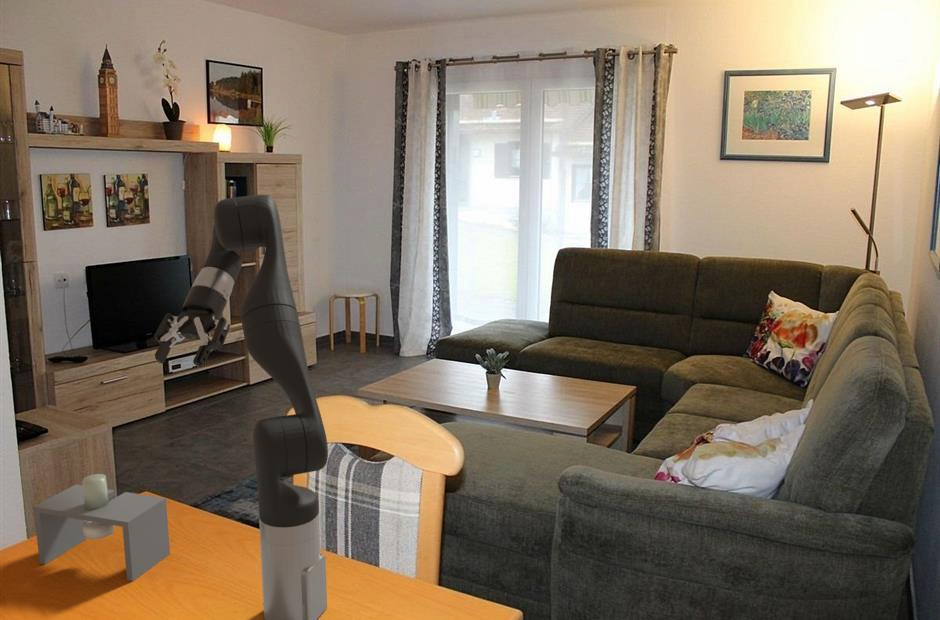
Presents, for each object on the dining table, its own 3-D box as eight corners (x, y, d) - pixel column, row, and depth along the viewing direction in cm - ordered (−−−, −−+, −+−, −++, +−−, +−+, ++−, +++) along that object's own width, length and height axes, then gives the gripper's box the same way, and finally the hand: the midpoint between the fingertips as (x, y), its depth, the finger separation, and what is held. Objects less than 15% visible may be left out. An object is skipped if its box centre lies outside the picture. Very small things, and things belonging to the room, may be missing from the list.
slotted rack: (170, 553, 147) (165, 498, 145) (132, 581, 138) (127, 522, 135) (81, 538, 153) (76, 484, 150) (39, 563, 143) (33, 506, 141)
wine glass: (120, 528, 145) (115, 474, 143) (101, 540, 140) (96, 485, 138) (97, 524, 146) (92, 471, 144) (77, 537, 141) (72, 482, 139)
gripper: (170, 282, 161) (136, 350, 153) (232, 285, 157) (200, 356, 149) (188, 302, 167) (156, 369, 159) (248, 307, 163) (218, 376, 155)
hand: (177, 363), depth 154 cm, fingers open, 8 cm apart
